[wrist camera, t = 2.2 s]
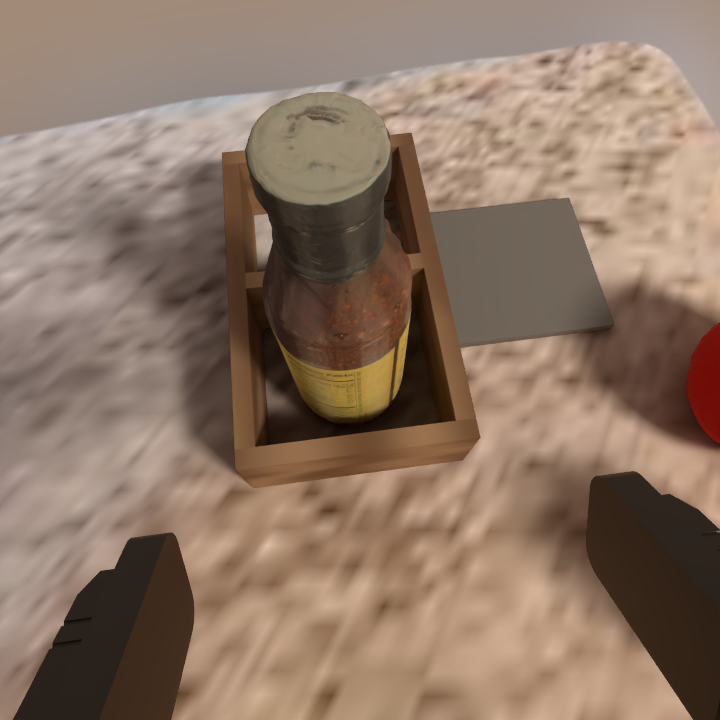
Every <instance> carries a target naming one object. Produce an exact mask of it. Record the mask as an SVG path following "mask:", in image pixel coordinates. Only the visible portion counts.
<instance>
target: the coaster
mask: <svg viewBox="0 0 720 720" xmlns="http://www.w3.org/2000/svg"><path fill="white" fill-rule="evenodd" d="M430 217H431V221H432V226H433V230H434V235H435V239H436V244H437V248H438V252H439V257H440V261H441V266H442V270H443V275H444V279H445V283H446V288H447V292H448V297H449V301H450V306H451V310H452V314H453V319H454V323H455V328H456V332H457V337H458V341H459V345H460V348H461V347H469V346H477V345H485V344H493V343H501V342H509V341H517V340H525V339H533V338H541V337H549V336H557V335H566V334H574V333H582V332H590V331H598V330H606V329H611V328H612V326H613V325H614V323H613V320H612V317H611V314H610V311H609V309H608V306H607V303H606V300H605V297H604V295H603V292H602V289H601V286H600V283H599V281H598V278H597V275H596V272H595V269H594V266H593V264H592V261H591V258H590V255H589V252H588V250H587V247H586V244H585V241H584V238H583V236H582V233H581V230H580V227H579V224H578V221H577V219H576V216H575V213H574V210H573V207H572V205H571V202H570V199H569V198H562V199H553V200H544V201H536V202H527V203H518V204H509V205H500V206H491V207H482V208H473V209H464V210H456V211H447V212H438V213H430Z"/></svg>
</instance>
